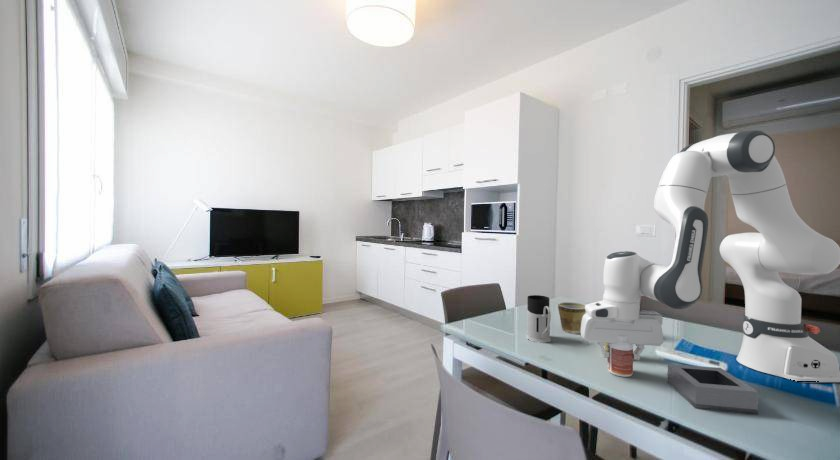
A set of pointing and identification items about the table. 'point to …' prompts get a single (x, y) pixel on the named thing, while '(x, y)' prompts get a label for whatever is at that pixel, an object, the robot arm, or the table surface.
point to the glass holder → (538, 319)
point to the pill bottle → (620, 357)
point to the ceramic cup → (571, 316)
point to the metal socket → (712, 389)
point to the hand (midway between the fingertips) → (620, 358)
